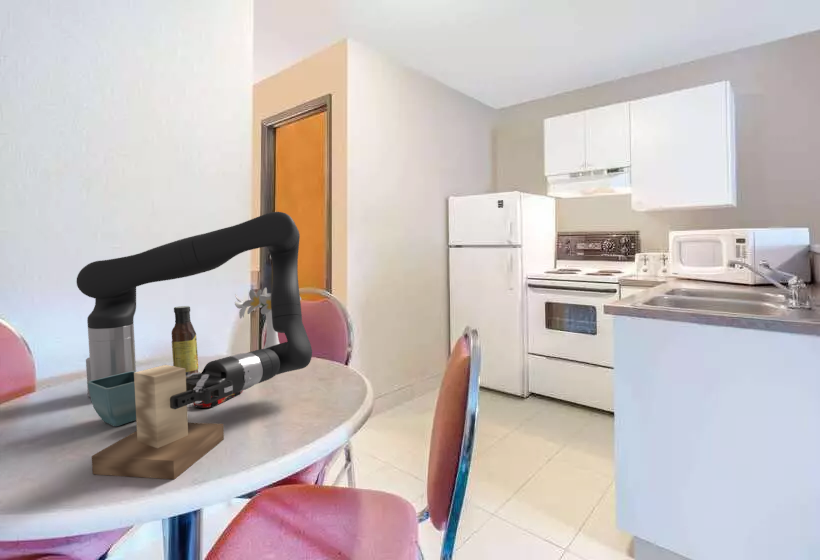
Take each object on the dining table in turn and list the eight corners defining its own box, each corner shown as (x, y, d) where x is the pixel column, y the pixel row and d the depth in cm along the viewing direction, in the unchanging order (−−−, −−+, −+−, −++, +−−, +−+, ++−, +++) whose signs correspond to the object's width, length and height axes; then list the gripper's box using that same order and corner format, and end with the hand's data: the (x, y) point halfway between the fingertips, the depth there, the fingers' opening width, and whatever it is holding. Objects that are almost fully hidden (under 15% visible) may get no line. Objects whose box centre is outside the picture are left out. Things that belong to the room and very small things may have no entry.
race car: (206, 412, 94) (206, 394, 94) (187, 409, 96) (187, 392, 95) (247, 392, 107) (246, 377, 106) (229, 390, 108) (229, 375, 108)
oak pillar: (137, 441, 72) (133, 372, 71) (168, 429, 77) (165, 364, 76) (157, 448, 70) (154, 376, 69) (188, 435, 75) (185, 368, 74)
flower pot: (108, 433, 82) (106, 388, 82) (88, 423, 87) (86, 381, 86) (155, 418, 90) (153, 376, 89) (134, 410, 95) (132, 370, 94)
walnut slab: (92, 474, 67) (91, 456, 67) (155, 435, 81) (154, 420, 81) (174, 479, 66) (173, 460, 66) (223, 439, 80) (223, 423, 79)
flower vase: (236, 369, 127) (233, 286, 125) (299, 362, 134) (297, 284, 132) (237, 381, 115) (234, 290, 113) (306, 373, 122) (304, 287, 120)
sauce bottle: (203, 375, 121) (200, 306, 120) (181, 380, 116) (178, 308, 114) (190, 371, 124) (187, 304, 123) (168, 377, 119) (165, 307, 118)
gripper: (209, 352, 89) (129, 372, 75) (258, 360, 83) (181, 383, 68) (210, 387, 90) (131, 413, 75) (259, 397, 83) (183, 428, 69)
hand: (155, 399), depth 72 cm, fingers open, 8 cm apart
